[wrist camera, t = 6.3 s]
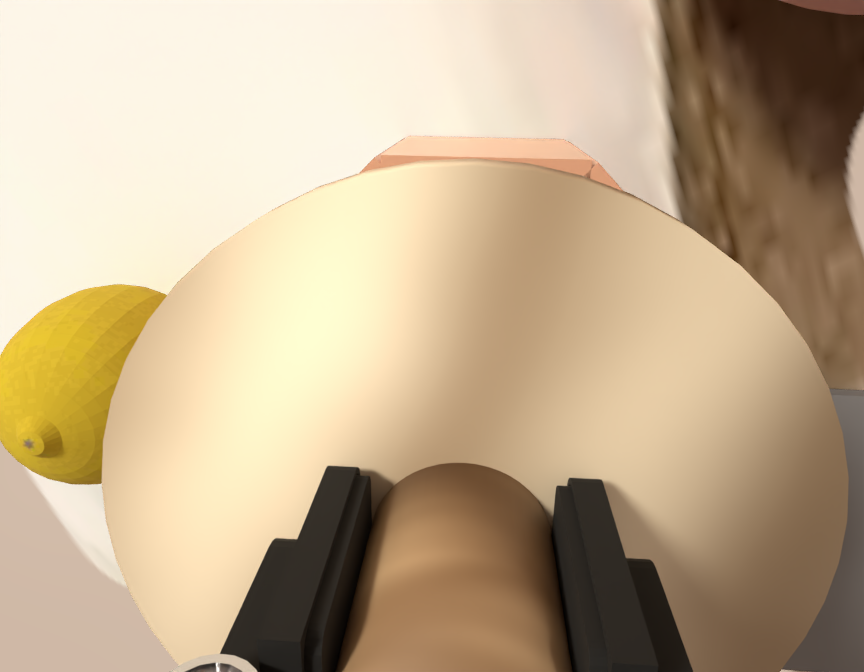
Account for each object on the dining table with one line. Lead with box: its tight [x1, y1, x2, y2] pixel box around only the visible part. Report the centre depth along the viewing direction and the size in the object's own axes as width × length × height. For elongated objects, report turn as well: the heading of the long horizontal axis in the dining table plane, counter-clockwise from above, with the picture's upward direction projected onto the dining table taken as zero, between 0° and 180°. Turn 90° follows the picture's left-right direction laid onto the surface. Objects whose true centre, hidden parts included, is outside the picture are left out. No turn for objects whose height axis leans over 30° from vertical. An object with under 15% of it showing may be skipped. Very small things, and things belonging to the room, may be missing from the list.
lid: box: [102, 158, 849, 672], centre depth 10 cm, size 13×13×6 cm
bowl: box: [360, 136, 623, 191], centre depth 20 cm, size 12×12×6 cm
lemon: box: [0, 284, 167, 484], centre depth 20 cm, size 6×6×8 cm
